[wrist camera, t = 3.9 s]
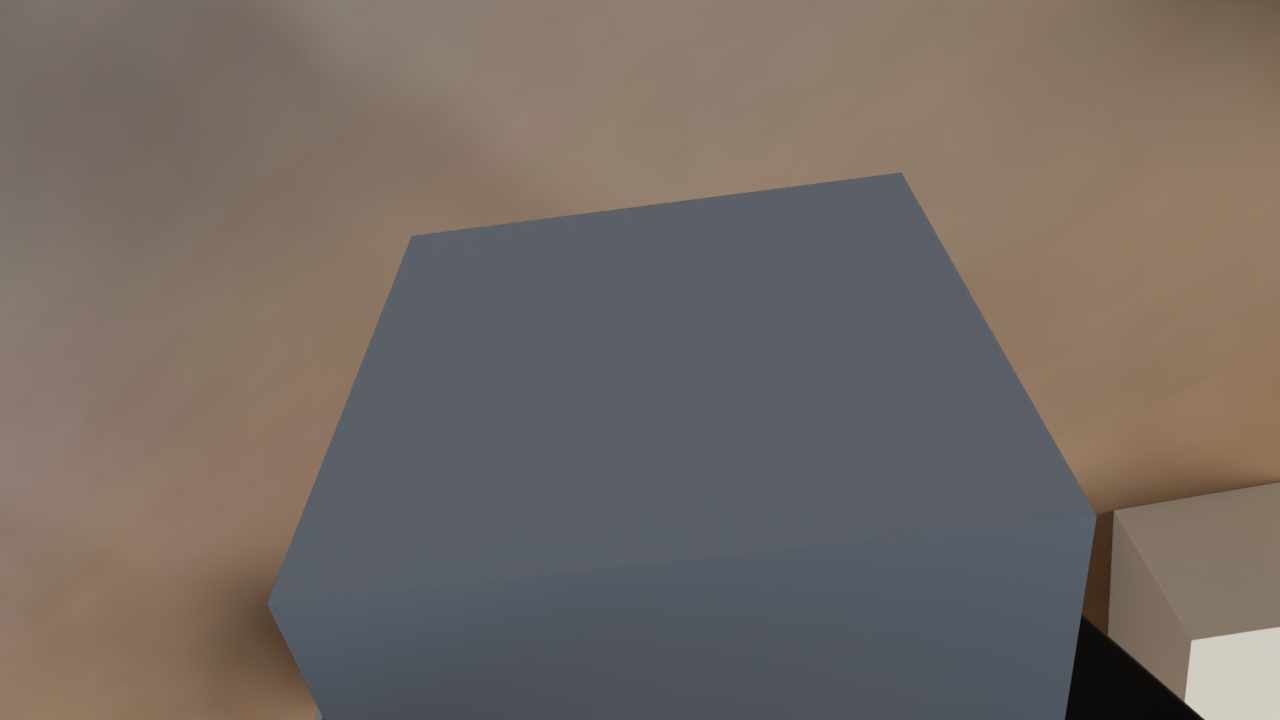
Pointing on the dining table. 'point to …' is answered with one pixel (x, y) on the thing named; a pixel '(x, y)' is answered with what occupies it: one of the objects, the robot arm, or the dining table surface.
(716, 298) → the slate brick
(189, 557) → the dining table surface
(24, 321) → the dining table surface
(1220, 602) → the cream brick
